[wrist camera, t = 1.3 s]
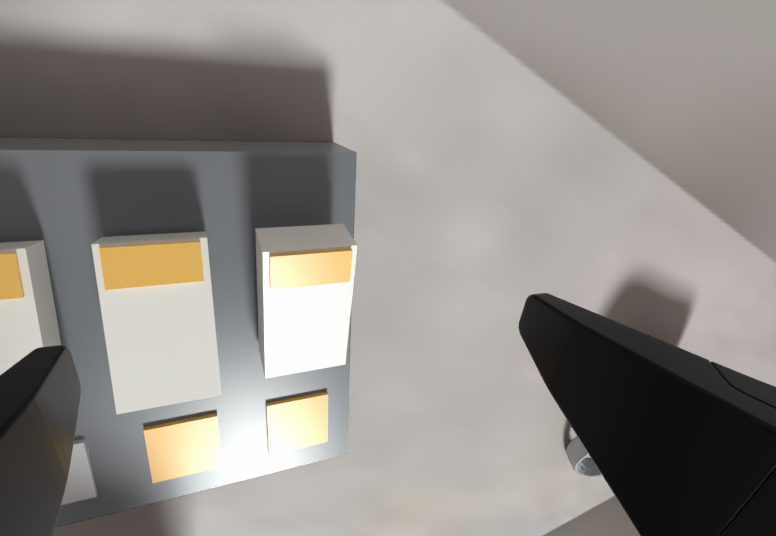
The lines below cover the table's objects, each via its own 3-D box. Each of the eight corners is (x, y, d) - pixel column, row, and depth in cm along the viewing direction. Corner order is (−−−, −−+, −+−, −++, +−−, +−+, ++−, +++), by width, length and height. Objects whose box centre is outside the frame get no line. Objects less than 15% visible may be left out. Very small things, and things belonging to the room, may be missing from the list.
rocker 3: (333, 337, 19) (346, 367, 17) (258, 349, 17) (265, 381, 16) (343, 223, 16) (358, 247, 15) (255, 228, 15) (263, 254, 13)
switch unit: (329, 414, 24) (348, 456, 21) (14, 481, 19) (-15, 549, 16) (333, 142, 19) (358, 153, 16) (-96, 135, 14) (-165, 149, 11)
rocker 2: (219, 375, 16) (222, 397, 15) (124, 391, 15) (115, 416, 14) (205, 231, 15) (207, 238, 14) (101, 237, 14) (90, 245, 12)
